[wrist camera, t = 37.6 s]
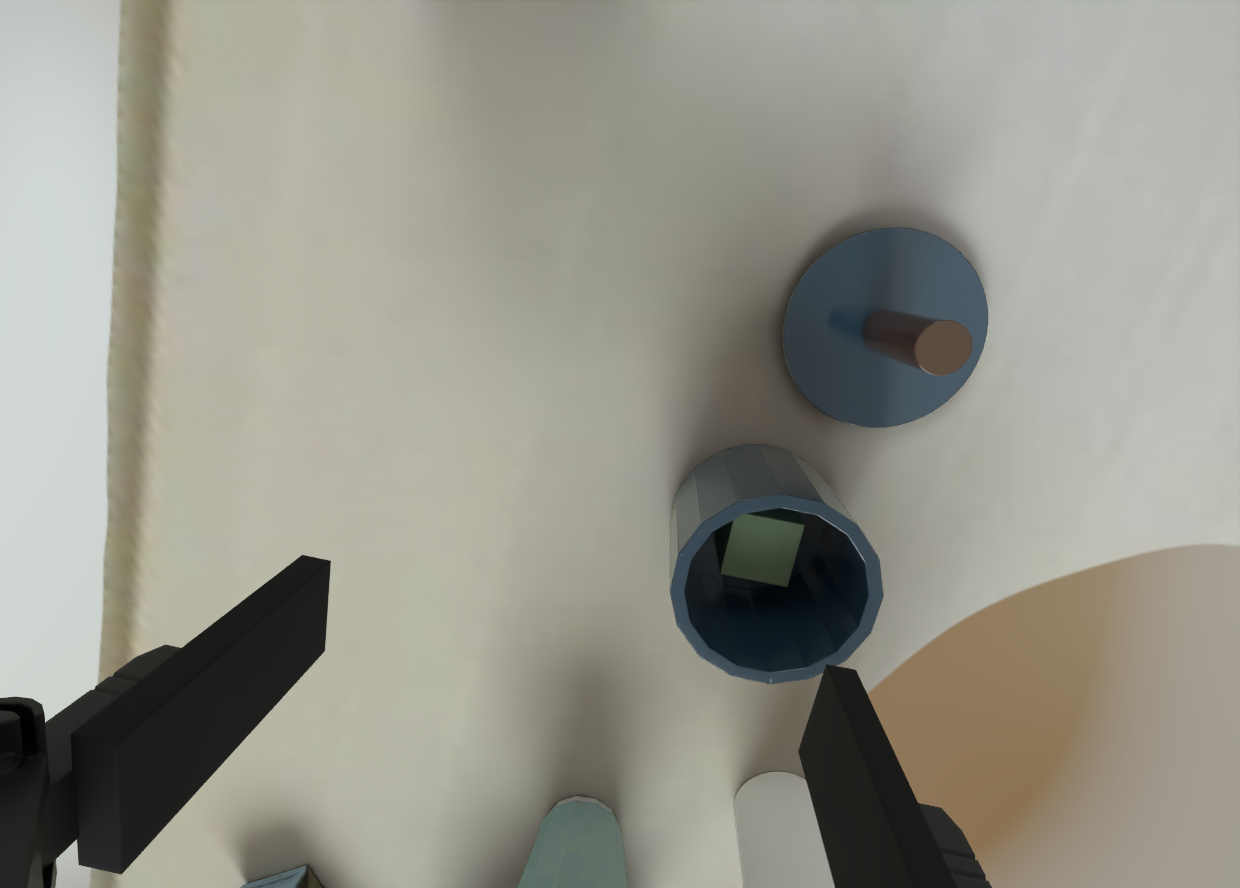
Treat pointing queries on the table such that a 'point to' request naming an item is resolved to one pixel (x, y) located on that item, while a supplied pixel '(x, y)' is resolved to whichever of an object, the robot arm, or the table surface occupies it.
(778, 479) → the canister
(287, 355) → the table surface
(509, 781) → the table surface
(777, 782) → the cylindrical container
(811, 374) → the lid
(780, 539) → the block
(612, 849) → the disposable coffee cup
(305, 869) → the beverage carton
